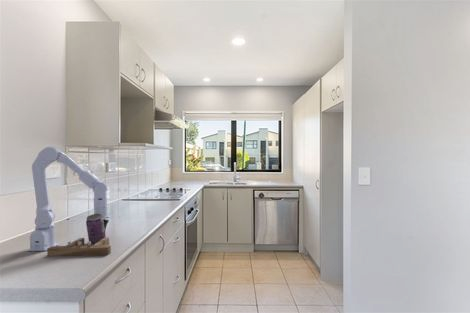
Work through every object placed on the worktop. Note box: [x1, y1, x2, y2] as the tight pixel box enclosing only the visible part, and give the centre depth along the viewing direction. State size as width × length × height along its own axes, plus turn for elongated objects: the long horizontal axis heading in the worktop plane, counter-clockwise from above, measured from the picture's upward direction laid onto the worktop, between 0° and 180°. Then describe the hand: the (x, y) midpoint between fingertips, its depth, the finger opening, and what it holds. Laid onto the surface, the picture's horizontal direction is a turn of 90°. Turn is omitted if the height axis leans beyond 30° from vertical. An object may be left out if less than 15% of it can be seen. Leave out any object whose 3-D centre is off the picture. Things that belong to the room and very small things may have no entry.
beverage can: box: [85, 213, 107, 244], centre depth 132 cm, size 7×7×12 cm
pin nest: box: [46, 237, 112, 257], centre depth 124 cm, size 14×24×5 cm, turn 91°
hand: (101, 235), depth 137 cm, fingers closed, pressing on beverage can
